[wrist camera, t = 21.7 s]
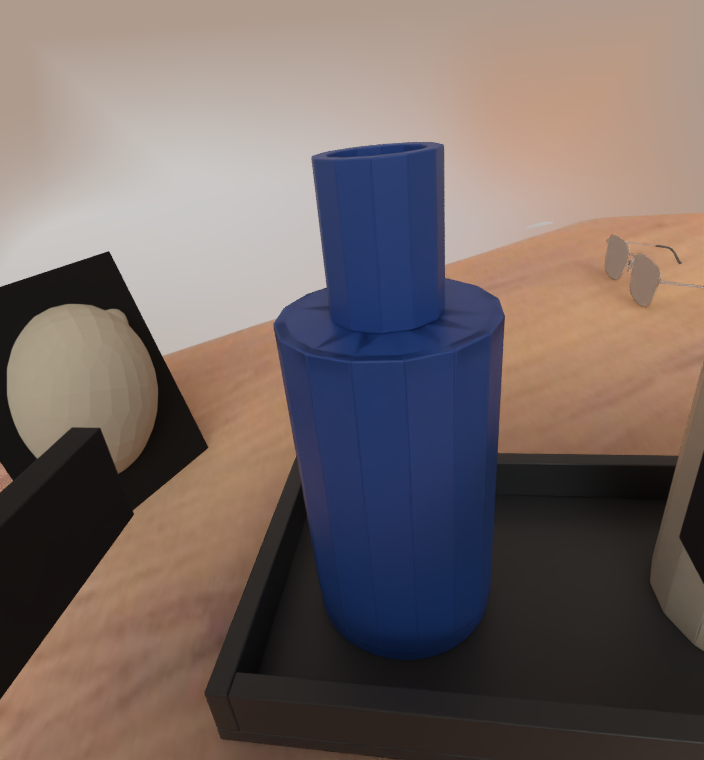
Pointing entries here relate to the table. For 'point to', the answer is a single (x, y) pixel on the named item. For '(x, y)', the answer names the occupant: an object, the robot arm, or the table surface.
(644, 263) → the eyeglasses
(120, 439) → the decorative object
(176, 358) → the table surface
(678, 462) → the cream bottle mid
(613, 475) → the tray
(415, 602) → the blue bottle
